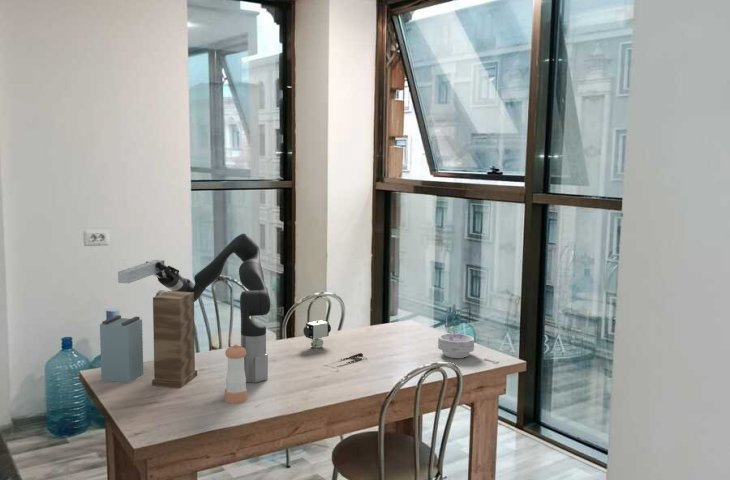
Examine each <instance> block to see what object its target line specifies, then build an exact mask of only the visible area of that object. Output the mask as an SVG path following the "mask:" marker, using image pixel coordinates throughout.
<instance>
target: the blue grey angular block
mask: <svg viewBox="0 0 730 480" xmlns="http://www.w3.org/2000/svg"><path fill="white" fill-rule="evenodd" d="M99 340H100V341H99V342H100V343H99V344H100V345H99V346H100V374H101V376H100V377H101V381H102V382H103V381H104V382H113V381H114V383H116V382H117V383H126V384H130V383H131V382H133V381H136V379H138V378H139V377H141V376H143V375H144V351H143V349H144V348H143V347H144V346H143V345H144V344H143V343H144V342H143V319H141V318H140V316H134V317H132V318H125V317H124V318H123V317H122V315H121V314H120V315H115V316H112V317H110V318H108V319H105V320H103V321H102V322H101V323H100V324H99Z"/></svg>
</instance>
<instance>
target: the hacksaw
mask: <svg viewBox="0 0 730 480" xmlns="http://www.w3.org/2000/svg"><path fill="white" fill-rule="evenodd" d="M357 356H361V357H357ZM363 356H364V353H362V352H360V353H356V354H353V355H349V356H348V357H345V358H341V359H340V360H342V359H344V360H343V361H346V360H349V359H350V358H351V359H352V358H353V359H352V360H350V361H348V362H346V363H350V362H353V363H355V362H354V361H356V362H359V361H362V360H363V359H362V358H363ZM355 357H356V358H355ZM345 359H346V360H345ZM358 360H359V361H358ZM365 360H368V358H367V357H365ZM350 364H351V363H350Z"/></svg>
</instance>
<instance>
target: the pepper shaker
mask: <svg viewBox="0 0 730 480" xmlns="http://www.w3.org/2000/svg"><path fill="white" fill-rule="evenodd" d="M224 355H225V356H226V358H227V371H226V378H225V387H226V388H225V390H224V400H225V402H226V403H228V404H241V403H244V402H246V401H247V400H248V390H247V387H246V384H247V382H246V377H245V371H244V357H245V355H246V350H245V348H243V347H241V345H238V344H234V345H233V346H230V347H227V349H226V350H225V353H224Z"/></svg>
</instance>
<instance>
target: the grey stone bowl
mask: <svg viewBox="0 0 730 480" xmlns="http://www.w3.org/2000/svg"><path fill="white" fill-rule="evenodd" d="M437 339H438V340H437V349H439V350H440V351H442V354H443V355H444V356H446V357H447V358H449V359H450V358H451V359H464V357H465V358H466V357H468V356H469V354H470V353H472V352H474V351H475V338H474V337H473V336H472V335H469V334H468V335H467V334H462V333H442V334H440V335H438V338H437Z"/></svg>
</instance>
